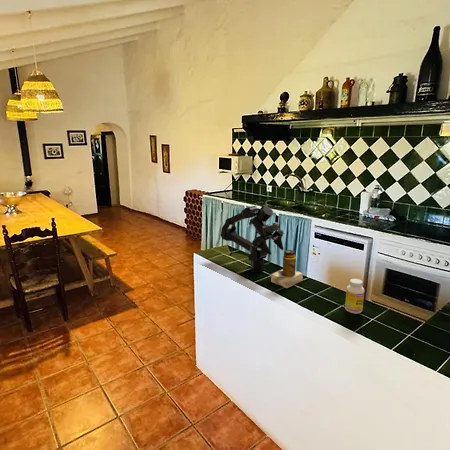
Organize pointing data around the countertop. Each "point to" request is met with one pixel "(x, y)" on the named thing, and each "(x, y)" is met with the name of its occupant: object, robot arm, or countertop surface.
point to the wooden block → (286, 279)
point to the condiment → (288, 264)
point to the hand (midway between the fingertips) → (277, 252)
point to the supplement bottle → (354, 296)
